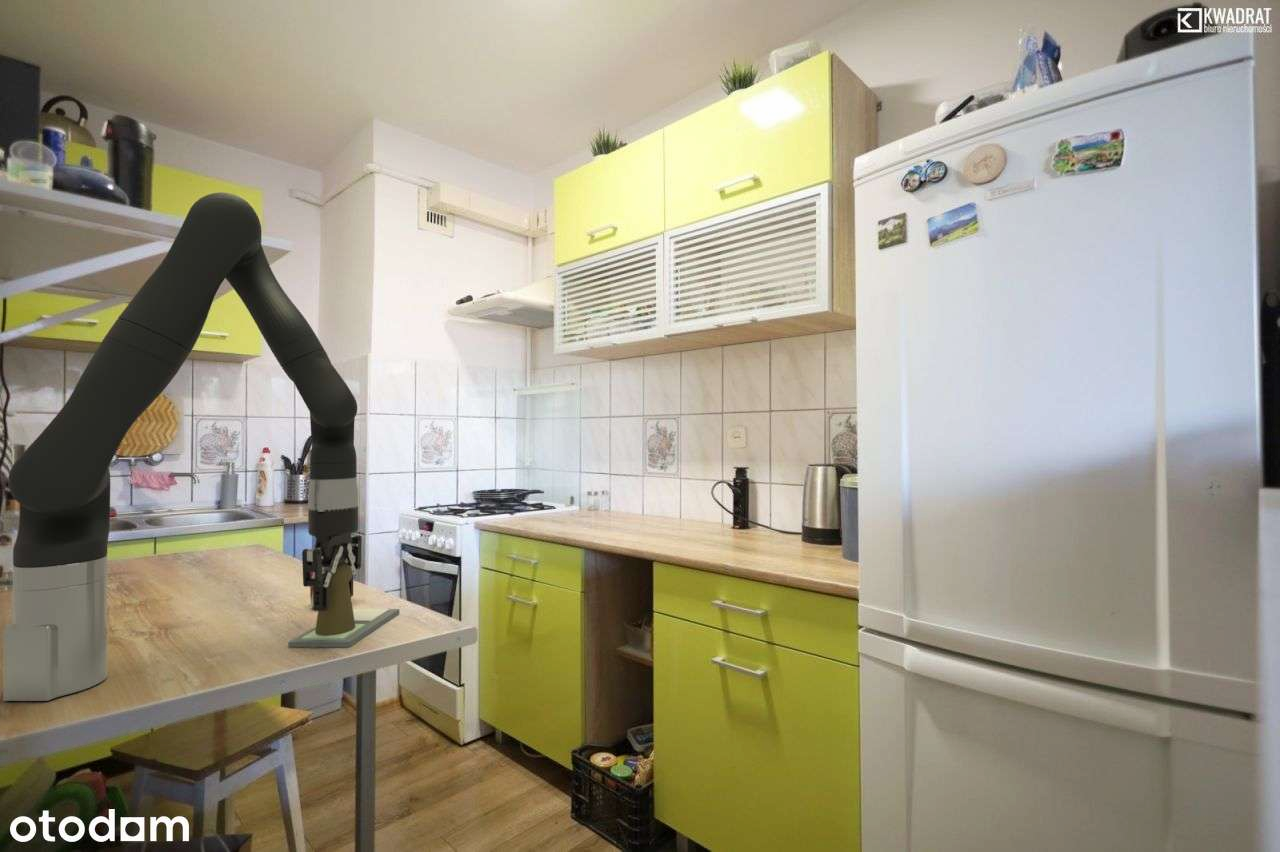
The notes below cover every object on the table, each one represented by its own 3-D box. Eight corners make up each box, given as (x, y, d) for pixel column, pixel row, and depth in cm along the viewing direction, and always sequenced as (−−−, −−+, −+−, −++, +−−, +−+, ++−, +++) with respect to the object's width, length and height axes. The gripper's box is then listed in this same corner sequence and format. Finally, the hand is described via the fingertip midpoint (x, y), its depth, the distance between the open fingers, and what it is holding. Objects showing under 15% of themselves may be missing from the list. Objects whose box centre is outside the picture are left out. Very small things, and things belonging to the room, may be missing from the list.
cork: (339, 636, 96) (338, 568, 96) (306, 634, 97) (306, 567, 97) (363, 624, 102) (362, 561, 102) (332, 623, 103) (332, 560, 103)
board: (349, 647, 94) (349, 639, 94) (288, 647, 94) (288, 640, 94) (399, 613, 112) (399, 607, 112) (348, 613, 112) (348, 607, 112)
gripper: (335, 500, 106) (336, 592, 106) (284, 510, 92) (285, 616, 92) (376, 500, 106) (376, 592, 106) (331, 510, 92) (332, 616, 91)
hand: (334, 603), depth 99 cm, fingers open, 7 cm apart
